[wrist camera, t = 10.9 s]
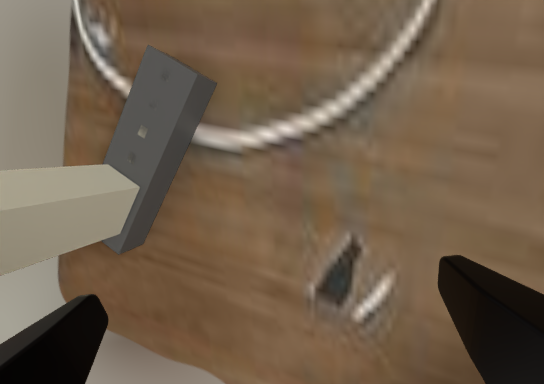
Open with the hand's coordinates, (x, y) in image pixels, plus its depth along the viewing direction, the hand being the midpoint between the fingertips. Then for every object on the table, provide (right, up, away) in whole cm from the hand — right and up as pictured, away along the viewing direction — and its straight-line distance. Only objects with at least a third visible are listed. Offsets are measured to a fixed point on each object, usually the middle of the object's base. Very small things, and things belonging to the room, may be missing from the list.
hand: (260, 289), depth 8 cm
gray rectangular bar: (-8, +5, +14) cm, 18 cm away
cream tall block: (-11, +2, +13) cm, 17 cm away
